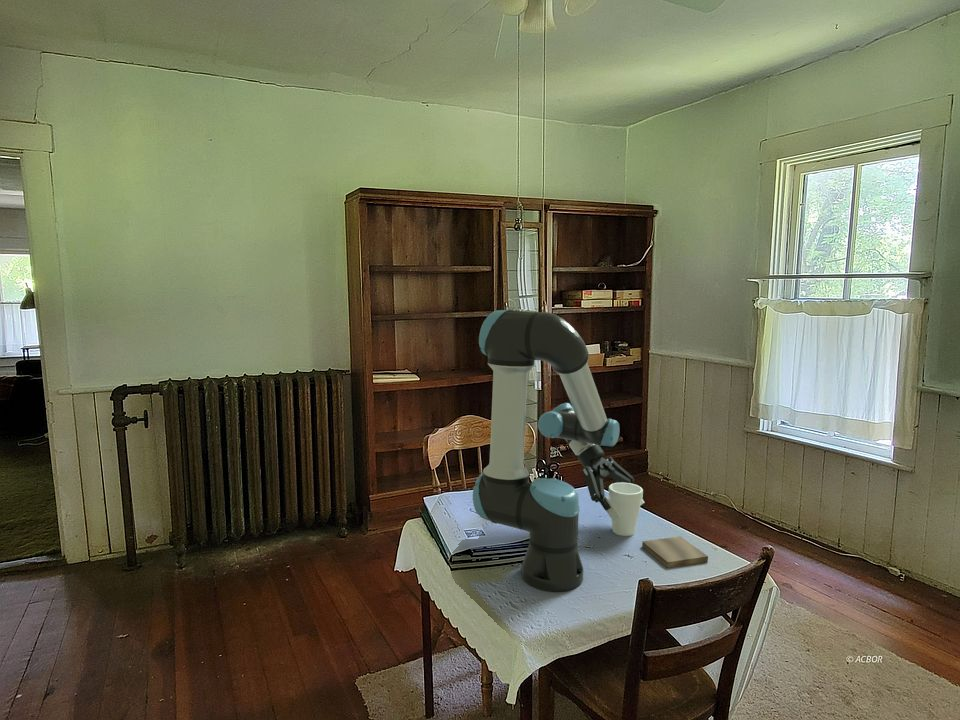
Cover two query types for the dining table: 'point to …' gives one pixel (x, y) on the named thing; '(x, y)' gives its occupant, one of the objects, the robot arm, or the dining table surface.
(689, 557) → the walnut coaster
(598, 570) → the dining table surface
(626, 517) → the foam cup
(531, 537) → the robot arm
